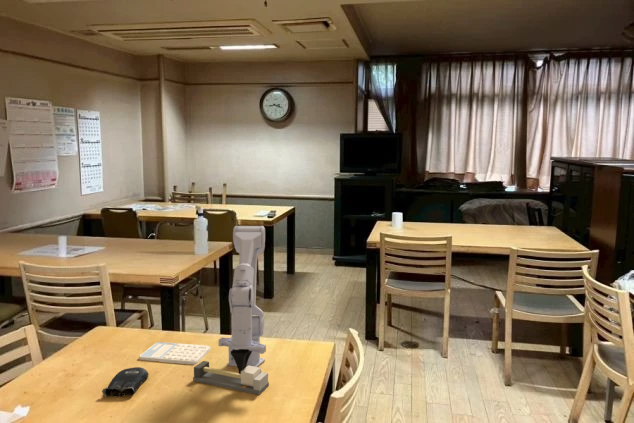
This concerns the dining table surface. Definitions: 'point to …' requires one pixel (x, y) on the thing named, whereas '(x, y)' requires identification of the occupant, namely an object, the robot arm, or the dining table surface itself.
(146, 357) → the calculator
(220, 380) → the cord board
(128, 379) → the electronic device
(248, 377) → the beige sliding bead
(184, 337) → the dining table surface
